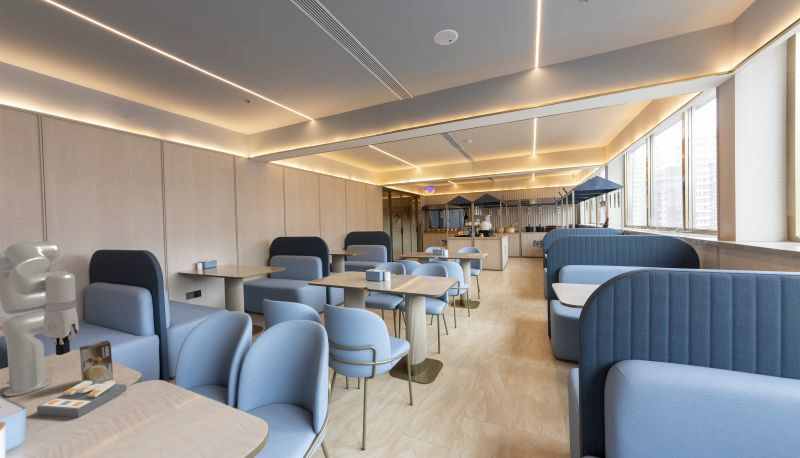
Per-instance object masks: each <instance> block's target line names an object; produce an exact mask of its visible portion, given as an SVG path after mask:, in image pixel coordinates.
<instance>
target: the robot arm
mask: <svg viewBox="0 0 800 458" xmlns="http://www.w3.org/2000/svg"><path fill="white" fill-rule="evenodd" d="M60 253H61V249H60V248H59V245H57V243H55V242H52V241H32V242H31V241H29V242H28V241H27V242H19V243H18V242H16V243H13V244H10V245H8V246H7V247H6V248H5V250H4V251H3V250H2V251H0V305H1V308H2V310H3V312H4V313H5V314H7V315H15V314H17V315H15V316H12V317H11V316H10V317H9V318H7V319H6V320H4V322H3V323H2V325H1V330H2V334H3V336H4V340H5V343H6V349H7V350H6V351H7V364H8V365H7V367H8V368H7V369H8V381H7V382H6V385H9V387H8V388H7V389H6V390H5V391H3V396H4V395H6V396H5V397H8V396H9V397H17V396H21V395H26V394H29V393H33V392H35V391H38V390H40V389H43V388H45V387H47V386H48V385H50V384H51V383H52V378H49V377H46V364H45V362H46V361H45V346H44V342H43V341H42V340H40V339H38V338H37V337H35V336H37V335H39V334H42V335H43V337H45V338H49V339H50V340H51V339H52V340H53V344H54V345H55V355H56V356H62V355H65V354H68V353H70V352H71V345H70V343H72V342H71V341H72V340H74V339H76V338H77V335H76V334H78V333H79V331H80V330H79V327H80V326H79V324H80V323H79V317H78V313H77V309H76V308H77V301H76V300H77V299H76V297H77V296H76V276H75V275H74V274H73V273H69V272H68V271H66V270H55V271H46V270H47V269H48V268H49V267H50V264H51V263H53V262H54V261H56V260H58V258H59V256H60ZM45 271H46V272H45ZM39 310H40V311H39ZM28 312H29V313H28ZM22 313H23V314H22Z"/></svg>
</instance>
